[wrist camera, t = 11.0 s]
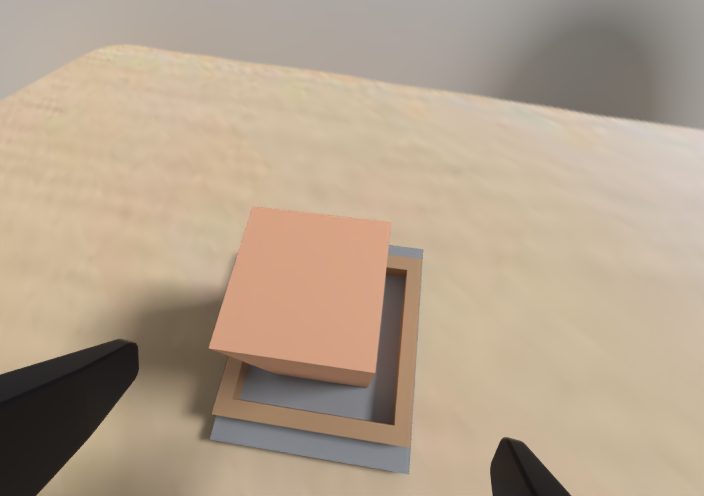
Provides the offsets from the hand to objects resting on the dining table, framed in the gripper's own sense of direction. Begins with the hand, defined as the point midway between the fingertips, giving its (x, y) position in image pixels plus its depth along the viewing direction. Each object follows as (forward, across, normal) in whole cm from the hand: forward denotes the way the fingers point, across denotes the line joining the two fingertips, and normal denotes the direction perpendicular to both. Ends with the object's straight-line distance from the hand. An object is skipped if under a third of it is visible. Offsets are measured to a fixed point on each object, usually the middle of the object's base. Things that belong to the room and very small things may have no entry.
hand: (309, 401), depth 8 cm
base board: (+11, +1, +5) cm, 12 cm away
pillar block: (+10, +1, +5) cm, 11 cm away
